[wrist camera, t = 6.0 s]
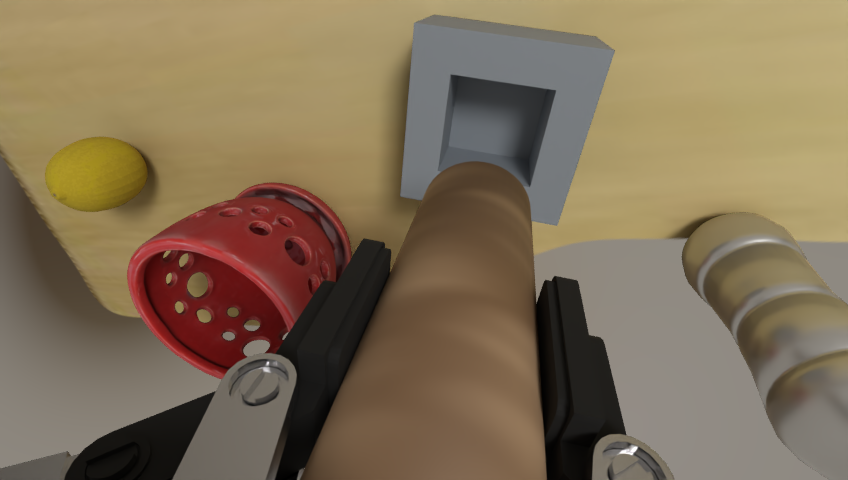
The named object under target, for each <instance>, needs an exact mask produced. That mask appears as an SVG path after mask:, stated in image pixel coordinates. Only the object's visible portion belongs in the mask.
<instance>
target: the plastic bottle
mask: <svg viewBox="0 0 848 480" xmlns="http://www.w3.org/2000/svg"><path fill="white" fill-rule="evenodd" d="M682 263H683V267H684V272H685V276H686V278H687V280H688V282H689V284H690V285H691V286H692V288H693V289H694V290H695V291H696V292H697V293H698V295H699V296H700V297H701V298H702V299H703V300H704V301H705V302H706V303H707V304H709V305H710V306H711V307H712V308H713V310H714V311H715V312H716V314H717V315H718V316H719V318H720V319H721V320H722V321H723V323H724V324H725V326H726V327H727V328H728V329H729V331H730V332H731V334H732V336H733V338H734V340H735V342H736V343H737V345H738V346H739V349H740V351H741V353H742V355H743V357H744V359H745V361H746V363H747V365H748V367H749V369H750V371H751V373H752V376H753V378H754V381H755V383H756V386H757V389H758V391H759V394H760V396H761V399H762V402H763V404H764V407H765V410H766V413H767V415H768V418H769V420H770V422H771V424H772V426H773V428H774V430H775V433H776V435H777V436H778V438H779V439H780V440H781V441H782V443H783V444H784V445H785V446H786V447H787V448H788V449H789V450H790V451H791V452H793V454H794V455H795V456H796V457H797V458H798V459H799V460H801V461H802V462H803V463H805V464H806V465H808V466H809V467H810V468H812V469H814V470H815V471H817V472H818V473H820V474H821V475H823V476H824V477H826V478H827V479H829V480H848V305H847V304H846V303H845V302H844V301H843V300H842V299H841V298H839V297H838V296H837V295H836V294H835V293H834V292H832V290H831V289H830V288H829V287H828V286H827V284H826V283H825V282H824V281H823V279H822V278H821V277H820V276H819V275H818V274H817V272H816V271H815V270H814V269H813V267H812V266H811V265H810V264H809V263H808V261H807V259H806V257H805V255H804V253H803V251H802V250H801V248H800V246H799V245H798V244H797V242H796V241H795V239H794V238H793V237H792V235H791V234H790V233H789V232H788V231H787V230H786V229H785V228H784V227H782V226H780V225H779V224H777V223H775V222H773V221H771V220H769V219H767V218H766V217H764V216H761V215H758V214H754V213H746V212H740V213H730V214H725V215H721V216H718V217H715V218H712V219H710V220H708V221H707V222H705V223H703V224H702V225H701V226H699V227H698V228H697V229H696V230H695V231H694V232H693V233H692V234H691V236H690V237H689V239H688V240H687V242H686V243H685V246H684V248H683V252H682Z"/></svg>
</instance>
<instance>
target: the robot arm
mask: <svg viewBox="0 0 848 480" xmlns="http://www.w3.org/2000/svg"><path fill="white" fill-rule="evenodd" d="M390 261H391V249H387V248H385V243H384V242H379V241H374V240H369V239H363V240H362V241H361V243H360V245H359V246H358V248H357V250H356V251H355V253H354V255H353V256H352V258H351V260H350V261H349V263H348V265H347V266H346V268H345V270H344V271H343V273H342V275H341V276H340V278H339V280H338V281H337V282H333V281H328V280H325V281H323V282H322V283H321V284H320V285H319V287H318V289H317V290H316V292H315V293H314V295H313V296H312V298H311V299H310V301H309V302H308V304H307V305H306V307H305V309H304V310H303V312H302V313H301V315H300V316H299V318H298V319H297V321H296V322H295V324H294V326H293V327H292V329H291V330H290V332H289V333H288V335H287V336H286V338H285V339H284V341H283V342H282V344H281V346H280V347H279V349H278V350H277V352H276V353H275V354H272V353H263V354H257V355H253V356H249V357H247V358H245V359H243V360H241V361H239V362H237V363H236V364H235V365H234V366H232V367H231V368H230V369H229V370H228V371H227V373H226V374H225V376H224V377H223V378H222V380H221V382H220V384H219V386H218V388H217V390H216V392H213V393H210V394H207V395H205V396H202V397H200V398H197V399H195V400H192V401H190V402H187V403H184V404H182V405H179V406H177V407H174V408H172V409H169V410H167V411H164V412H162V413H159V414H156V415H154V416H151V417H149V418H146V419H144V420H141V421H138V422H136V423H133V424H131V425H129V426H126V427H123V428H121V429H118V430H116V431H113V432H111V433H109V434H107V435H105V436H103V437H101V438H99V439H97V440H96V441H95V442H93V443H92V444H90V445H89V446H88V447H86V448H85V449H84V450H83V451H82V452H81V453H80V454H77V455H74V456H71V455H70V454H69V452H68V451H66V452H63V453H59V454H55V455H51V456H47V457H43V458H39V459H36V460H31V461H28V462H24V463H20V464H16V465H12V466H8V467H5V468H0V480H300V478H301V476H302V473H303V471H304V468H305V466H306V464H307V462H308V460H309V457H310V455H311V453H312V450H313V448H314V446H315V444H316V441H317V439H318V437H319V434H320V432H321V430H322V428H323V425H324V423H325V421H326V418H327V416H328V414H329V412H330V409H331V407H332V405H333V402H334V400H335V398H336V396H337V393H338V391H339V389H340V386H341V384H342V382H343V380H344V377H345V375H346V373H347V370H348V368H349V366H350V364H351V361H352V359H353V357H354V354H355V352H356V350H357V348H358V345H359V343H360V341H361V338H362V336H363V334H364V332H365V329H366V327H367V325H368V322H369V320H370V318H371V316H372V313H373V311H374V309H375V306H376V304H377V302H378V300H379V297H380V295H381V293H382V290H383V288H384V286H385V284H386V281H387V279H388V277H389V274H390ZM536 306H537V323H538V339H539V356H540V373H541V389H542V406H543V423H544V439H545V456H546V473H547V480H674V477H673V475H672V473H671V471H670V469H669V468H668V466H667V464H666V463H665V462H664V461H663V460H662V458H661V457H660V456H659V455H658V454H657V453H656V452H655V451H654V450H652V449H651V448H650V447H649V446H648V445H646V444H645V443H643V442H641V441H639V440H637V439H635V438H633V437H630V436H626V431H625V427H624V423H623V419H622V415H621V411H620V407H619V402H618V398H617V394H616V390H615V386H614V381H613V377H612V373H611V369H610V365H609V360H608V356H607V352H606V348H605V344H604V342H603V340H602V339H601V338H600V337H595V336H590V335H589V334H588V329H587V323H586V319H585V313H584V309H583V304H582V299H581V294H580V289H579V284H578V281H577V280H572V279H567V278H562V277H557V276H554V278H553V279H552V281H549V280H545V281H544V283H543V286H542V289H541V292H540V296H539V298H538V301H537V304H536Z"/></svg>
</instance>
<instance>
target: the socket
mask: <svg viewBox="0 0 848 480" xmlns="http://www.w3.org/2000/svg"><path fill="white" fill-rule="evenodd" d="M614 52H615V50H613V49H612V48H611V47H609V46H608V45H607V44H605V43H604V42H603V41H601V40H600V39H598V38H597V37H595V36H588V35H580V34H573V33H566V32H558V31H551V30H544V29H536V28H529V27H522V26H514V25H507V24H500V23H492V22H485V21H477V20H470V19H463V18H455V17H448V16H441V15H432V16H430V17H427V18H425V19H422V20H420V21H417V22H415V23H414V33H413V45H412V57H411V70H410V82H409V95H408V107H407V119H406V132H405V144H404V157H403V169H402V181H401V194H400V197H405V198H411V199H416V200H422V199H423V197H424V194H425V192H426V190H427V188H428V186H429V184H430V183H431V182H432V180H433V179H434V178H435V177H436V176H437V175H438V174H439V173H441V172H442V171H443V170H445V169H447V168H448V167H451V166H453V165H455V164H459V163H463V162H470V161H479V162H487V163H491V164H494V165H497V166H500V167H502V168H503V169H505V170H507V171H508V172H510V173H511V174H513V175H514V176H515V177H516V178H517V179H518V180H519V181H520V183H521V184H522V185H523V187H524V188H525V190H526V192H527V195H528V197H529V201H530V207H531V221H535V222H540V223H545V224H551V225H556V226H557V225H558V222H559V219H560V216H561V213H562V210H563V206H564V203H565V200H566V197H567V194H568V191H569V188H570V185H571V182H572V179H573V176H574V173H575V170H576V167H577V164H578V161H579V158H580V155H581V152H582V149H583V146H584V143H585V140H586V137H587V134H588V131H589V128H590V125H591V121H592V118H593V115H594V112H595V109H596V106H597V103H598V100H599V97H600V94H601V91H602V88H603V85H604V82H605V79H606V76H607V73H608V70H609V67H610V64H611V61H612V58H613V55H614Z"/></svg>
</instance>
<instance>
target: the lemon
mask: <svg viewBox="0 0 848 480" xmlns="http://www.w3.org/2000/svg"><path fill="white" fill-rule="evenodd" d="M146 179H147V166H146V163H145V161H144V159H143V157H142V156H141V154H140V153H139V152H138V151H137V150H136V149H135V148H134V147H132V146H131V145H129V144H128V143H126V142H123V141H121V140H118V139H114V138H109V137H93V138H86V139H82V140H79V141H76V142H74V143H72V144H70V145H68V146H66V147H64V148H63V149H61V150H60V151H59V152H57V153H56V154H55V155H54V156H53V157H52V158H51V160H50V161H49V163H48V164H47V166H46V171H45V181H46V185H47V187H48V189H49V191H50V193H51V195H52V197H54V198H55V199H57V200H58V201H59V202H61V203H62V204H64V205H66V206H68V207H70V208H73V209H76V210H79V211H86V212H98V211H103V210H108V209H112V208H115V207H118V206H120V205H123V204H125V203H126V202H128V201H129V200H131V199H132V198H134V197H135V196H136V195H137V194H139V192H140V191H141V190H142V188H143V187H144V185H145V183H146Z"/></svg>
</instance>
